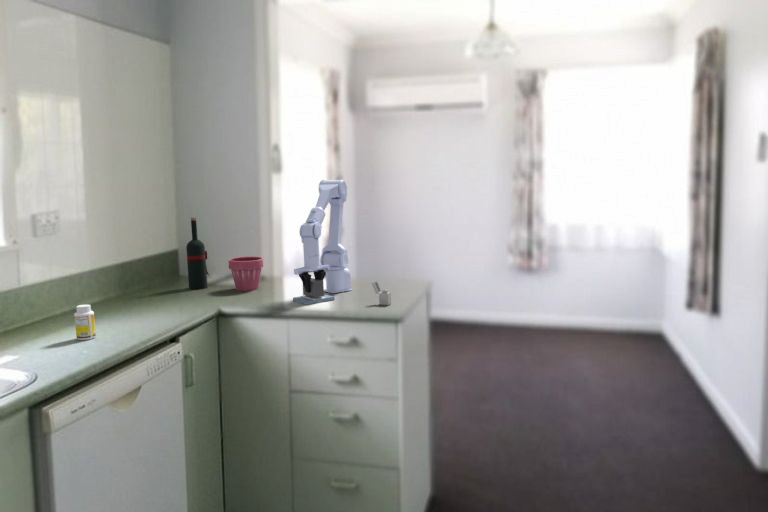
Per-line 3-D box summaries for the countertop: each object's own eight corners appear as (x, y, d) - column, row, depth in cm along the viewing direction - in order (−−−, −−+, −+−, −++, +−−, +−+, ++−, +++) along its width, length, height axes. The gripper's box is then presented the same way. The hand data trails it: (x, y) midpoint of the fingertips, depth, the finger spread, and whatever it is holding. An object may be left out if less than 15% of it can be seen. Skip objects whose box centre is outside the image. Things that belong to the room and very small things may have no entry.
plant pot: (270, 289, 292) (268, 258, 290) (238, 293, 284) (236, 262, 282) (256, 284, 304) (254, 255, 302) (225, 288, 296) (223, 258, 294)
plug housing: (312, 293, 268) (311, 277, 267) (323, 296, 262) (323, 280, 261) (303, 295, 266) (302, 279, 265) (314, 297, 260) (314, 281, 259)
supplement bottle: (90, 335, 220) (87, 303, 219) (99, 337, 217) (96, 305, 215) (73, 339, 216) (70, 306, 215) (82, 341, 212) (79, 308, 211)
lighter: (391, 304, 252) (390, 282, 251) (388, 305, 250) (387, 283, 249) (375, 302, 256) (374, 280, 255) (372, 303, 254) (371, 281, 253)
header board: (320, 296, 272) (320, 285, 271) (334, 299, 264) (333, 288, 263) (293, 300, 265) (292, 289, 264) (306, 304, 257) (305, 292, 256)
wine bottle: (215, 285, 304) (210, 216, 300) (199, 290, 295) (194, 218, 291) (201, 285, 308) (196, 216, 304) (184, 289, 299) (179, 218, 295)
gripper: (322, 252, 269) (323, 287, 271) (289, 256, 261) (290, 292, 262) (332, 253, 264) (333, 289, 266) (299, 258, 255) (300, 295, 257)
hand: (313, 291), depth 264 cm, fingers closed on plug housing, 4 cm apart
